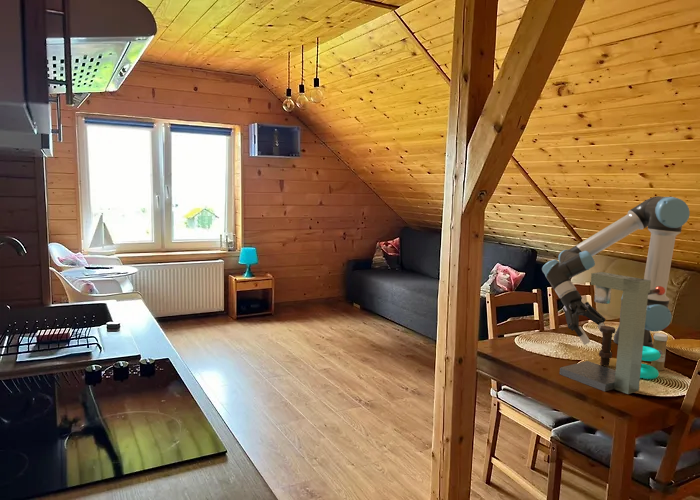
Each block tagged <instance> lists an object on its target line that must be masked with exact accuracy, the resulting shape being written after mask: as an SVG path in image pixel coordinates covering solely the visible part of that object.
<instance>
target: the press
mask: <svg viewBox="0 0 700 500" xmlns="http://www.w3.org/2000/svg"><path fill="white" fill-rule="evenodd" d="M590 285H591V286H595V291H594V303H597V304H603V305H604V304H606V305H607V304H610V303H611V297H612V289H613V290H616V291H621V292H622V294H623V296H621V298H622V307H621V306H620V312H621V318H620V317H619V323H620V329H619V340H618V344H617V352H616V353H617V354H616V362H615V369H613V368H610V367H608V366H602V365H601V364H598V363H595V362H592V361H589V360H586V361H581V362H577V363H574V364H570V365H565V366H562V367H559V375H561V376H563V377H565V378H568V379H570V380H573V381H576V382H579V383H581V384H583V385H586V386H590V387H592V388H594V389H597V390H600V391H602V392H608V391H611V390H616V391H618V392H621V393H623V394H627V395H630V394H633V393H637V392H639V389H640V381H641V378H640V372H641V364H642V361H643V360H642V351H643V341H644V331H645V321H646V311H647V300H648V295H651V294H657V295H663V294H664V293H665V288H664V287H662V286H657V287H656V288H655V289H652V290H650V286H651V280H645V279H644V278H639V277H633V276H628V275H621V274H616V273H610V272H604V271H598V272H592V273H591V275H590ZM636 391H637V392H636Z"/></svg>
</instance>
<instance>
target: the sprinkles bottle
mask: <svg viewBox="0 0 700 500" xmlns="http://www.w3.org/2000/svg"><path fill="white" fill-rule="evenodd" d="M668 337H669V336H668V335H667V334H665V333H661V332H660V333H659V332H655V333H653V337H652V339H653V345H652V348H654V349H656V350H658V351H659V352H660V354H661V356H660V358H659V359H658V360H655V361H650V362H651V363H650V366H653V367H654V368H656V369H657V370H658V371H664V370H665V361H666V353H667V352H666V350H667V344H668V343H667V342H668Z"/></svg>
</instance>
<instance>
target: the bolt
mask: <svg viewBox="0 0 700 500" xmlns="http://www.w3.org/2000/svg"><path fill="white" fill-rule="evenodd" d="M599 331H600V333H601V332H603V333H601V335H602V339H601V340H602V341H601V349H600V350H599V352H598V356H599V357H600V363H599V365H601V364H602V365H605V366H604V367H609V366H610V361H611V358H612V357H613V352H612V351H611V348H612V340H613V339H612V338H613V334H615V333H616V331H617V329H616V327H614V326H611V325H610V326H609V325H605V326H601V327H600V330H599ZM602 365H601V366H602Z"/></svg>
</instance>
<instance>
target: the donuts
mask: <svg viewBox="0 0 700 500" xmlns="http://www.w3.org/2000/svg"><path fill="white" fill-rule="evenodd" d="M660 356H661V354H660V352H659V351H658V350H656V349H654V348H653V347H646V346H643V351H642V361H644V362H651V361H655V360H658V359H659V358H660ZM659 375H660V372H659V370H657V369H656V368H654V367H653V366H651V364H646V363H641V372H640V379H642V378H643V379H644V380H654V379H657V378H658V377H659Z"/></svg>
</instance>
